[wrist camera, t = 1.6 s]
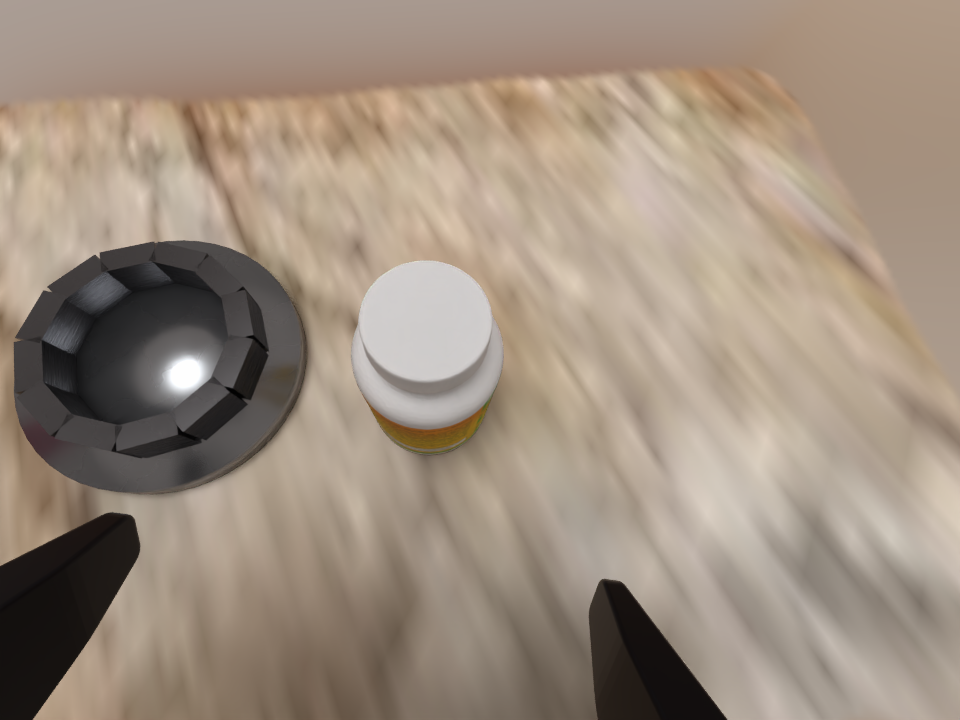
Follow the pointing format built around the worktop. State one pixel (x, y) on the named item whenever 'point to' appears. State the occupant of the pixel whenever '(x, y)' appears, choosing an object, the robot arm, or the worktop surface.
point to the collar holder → (158, 366)
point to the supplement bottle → (427, 355)
